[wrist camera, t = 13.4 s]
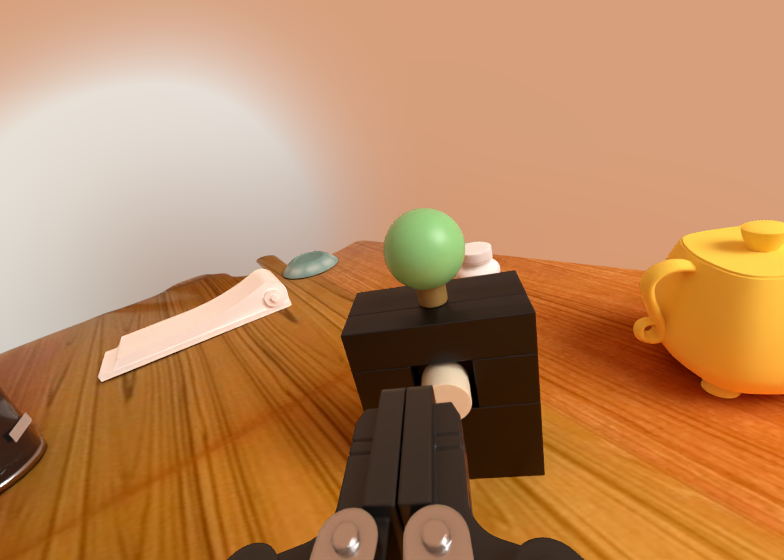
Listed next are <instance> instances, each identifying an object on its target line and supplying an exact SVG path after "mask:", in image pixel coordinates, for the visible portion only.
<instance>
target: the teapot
mask: <svg viewBox="0 0 784 560" xmlns="http://www.w3.org/2000/svg"><path fill="white" fill-rule="evenodd" d="M639 288H640V294H641V298H642V300H643V303H644V305H645V307H646V310H647V314H648V317H643V318H640V319H638V320H637V321H636V322H635V324H634V326H633V332H634V335H635V337H636V338H637V339H638V340H640V341H642V342H645V343H650V344H657V343H660V342H661V343H662V344H663V345H664V347H665V348H666V349H667V350H668V352H669V353H670V354H671V355H672V356H673V357H674V358H675V359H676V360H678V361H679V362H680V363H681V364H682V365H684V366H685V367H686V368H688V369H689V370H690V371H692V372H693V373H695V374H696V375H697V376H699V377H701V378H702V381H701V386H702V388H703V389H704V390H705V391H707V392H708V393H710V394H712V395H714V396H717V397H721V398H735V397H738V396H739V395H740V394H741V393H747V394H784V222H780V221H772V220H759V221H751V222H747V223H744V224H742V225H741V226H737V227H729V228H722V229H715V230H708V231H702V232H697V233H693V234H689V235H686V236H684V237H683V238H681V239H680V241H679V242H678V243H677V244H676V245H675V247H674V248H673V249H672V251H671V252H670V254H669V255H668V257H667V258H666V260H665V261H662V262H660V263H657V264H656V265H654V266H652V267H650V268H649V269H648V270H647V271H646V272H645V273H644V274H643V275H642V277H641V280H640V285H639ZM650 325H651V327H652V328H651V329H650V330H648V331H644V329H645V328H646V327H647V326H650Z"/></svg>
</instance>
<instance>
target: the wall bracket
mask: <svg viewBox="0 0 784 560" xmlns="http://www.w3.org/2000/svg"><path fill="white" fill-rule="evenodd" d="M289 306H291V302H290V300H289V297H288V294H287V290H286V288H285V286H284V285H283V284H282V283H281V282H280V281H279V280H278V279H277V278H276V277H275V276H274V275H273V274H272V273H271V272H270V271H269V270H266V269H258V270H255V271H254V272H252V273H251V274H250V275H249V276H248V277H246V278H245V279H244V280H242V281H241V282H240V283H238V284H237V285H236V286H234V287H233V288H231V289H230V290H228V291H227V292H225V293H223V294H222V295H220V296H218V297H216V298H215V299H213V300H211V301H209V302H207V303H205V304H203V305H201V306H199V307H196V308H194V309H192V310H189V311H187V312H184V313H182V314H179V315H177V316H174V317H171V318H169V319H166V320H164V321H161V322H159V323H156V324H153V325H151V326H148V327H146V328H143V329H141V330H138V331H135V332H133V333H130V334H128V335H125V336H122V338H121V340H120V343H119V345H118V348H115V349H112V350H110V351H107V352H105V356H104V359H103V362H102V366H101V369H100V372H99V375H98V378H99V379H100V381H101V382H103V381H105V380H108V379H110V378H113V377H115V376H118V375H120V374H123V373H125V372H128V371H130V370H132V369H135V368H137V367H140V366H142V365H145V364H147V363H150V362H152V361H155V360H157V359H160V358H162V357H165V356H167V355H170V354H172V353H175V352H177V351H180V350H182V349H185V348H187V347H189V346H192V345H194V344H197V343H199V342H202V341H204V340H207V339H209V338H212V337H214V336H217V335H219V334H222V333H224V332H227V331H229V330H232V329H234V328H237V327H239V326H242V325H244V324H246V323H249V322H251V321H254V320H256V319H259V318H261V317H264V316H266V315H269V314H271V313H274V312H276V311H279V310H281V309H284V308H286V307H289Z"/></svg>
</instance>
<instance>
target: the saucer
mask: <svg viewBox="0 0 784 560" xmlns="http://www.w3.org/2000/svg"><path fill="white" fill-rule="evenodd" d="M337 262H338V258H337V257H335V256H334V255H332V254H329V253H326V252H321V251H314V252H309V253H305V254H302V255H300V256H298V257H296V258H294V259H293V260H292V261H291V262H290V263H289V264H288V265H287V267H286V268H285V270H284V272H283V276H284V277H286V278H290V279H297V278H305V277H309V276H313V275H316V274H319V273H322V272H324V271H326V270H328V269H330V268H332V267H333V266H334V265H335V264H336V263H337Z"/></svg>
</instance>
